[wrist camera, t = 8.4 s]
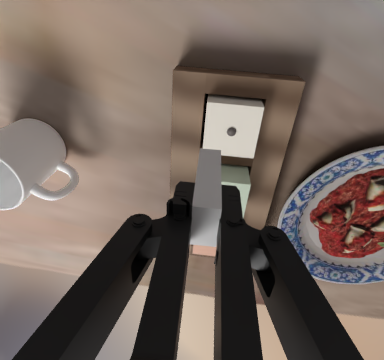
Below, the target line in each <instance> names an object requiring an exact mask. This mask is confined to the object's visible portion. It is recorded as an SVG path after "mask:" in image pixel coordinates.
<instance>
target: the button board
mask: <svg viewBox="0 0 384 360" xmlns="http://www.w3.org/2000/svg"><path fill="white" fill-rule="evenodd" d="M304 86H305V81H304V80H302V79H301V78H300V77H299V76H288V75H276V74H265V73H254V72H242V71H231V70H219V69H208V68H196V67H185V66H176V68H175V69H174V70H173V90H172V130H171V170H170V199H171V198H173V196H174V192H175V187H176V185H177V184H178V183H179V182H180V181H183V182H194V183H195V181H196V174H197V166H198V159H199V151H200V148H202V149H203V140H201V137H202V126H203V116H204V105H205V94H217V95H228V96H239V97H250V98H261V101H262V103H263V105H264V112H263V117H262V121H261V126H260V131H259V135H258V140H257V144H256V149H255V154H254V158H243V157H233V156H223V155H221V163H222V164H231V165H241V166H248V171H249V177H250V183H251V186H250V191H249V195H248V200H247V204H246V209H245V213H244V218H243V219H244V220H245V222H246V223H247V224H248V225H249V226H251V227H253V228H255V229H258V230H261V229H262V228H264V226H265V223H266V219H267V216H268V212H269V209H270V205H271V202H272V198H273V195H274V191H275V187H276V184H277V180H278V177H279V173H280V170H281V166H282V163H283V159H284V156H285V152H286V149H287V145H288V142H289V138H290V135H291V131H292V128H293V124H294V121H295V117H296V114H297V110H298V107H299V103H300V100H301V96H302V93H303V89H304ZM189 255H195V256H204V257H212V258H215V256H208V255H200V254H193V245H191V244H190V247H189Z"/></svg>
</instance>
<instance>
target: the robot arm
mask: <svg viewBox="0 0 384 360" xmlns="http://www.w3.org/2000/svg"><path fill="white" fill-rule="evenodd" d="M190 244H191V245H201V246H211V247H216V245H217V248H216V255H215V261H214V264H215V316H214V360H263V356H262V349H261V341H260V332H259V324H258V317H257V308H256V300H255V291H254V283H253V275H254V278H255V280H256V283H257V285H258V288H259V290H260V293H261V295H262V298H263V300H264V303H265V305H266V307H267V310H268V312H269V315H270V317H271V320H272V322H273V325H274V327H275V330H276V332H277V335H278V337H279V339H280V342H281V344H282V347H283V350H284V352H285V354H286V357H287V359H288V360H364V359H363V358H362V356H361V354H360V353H359V351H358V350H357V348H356V346H355V345H354V343H353V342H352V340H351V338H350V337H349V335H348V333H347V332H346V330H345V329H344V327H343V325H342V324H341V322H340V321H339V319H338V317H337V316H336V314H335V312H334V311H333V309H332V307H331V306H330V304H329V303H328V301H327V299H326V298H325V296H324V295H323V293H322V291H321V290H320V288H319V286H318V285H317V283H316V282H315V280H314V278H313V277H312V275H311V274H310V272H309V270H308V269H307V267H306V265H305V264H304V262H303V261H302V259H301V257H300V256H299V254H298V253H297V251H296V249H295V248H294V246H293V244H292V243H291V241H290V240H289V238H288V236H287V235H286V233H285V232H284V231H283V230H281V229H279V228H277V227H274V226H267V227H264V228H262V229H261V230H258V229H255V228H253V227H251V226H249V225H248V224H247V223H246V222H245V220H244V219H243V214H242V206H241V197H240V191H239V189H238V188H237V187H236V186H232V185H222V184H221V150H214V149H202V148H200V151H199V159H198V166H197V174H196V181H195V183H194V182H183V181H180V182H179V183H178V184H177V185H176V187H175V192H174V196H173V198H171V199H170V200H168V202H167V215H166V216H165V217H163V218H160V219H154V220H151V218H150V217H149V216H147V215H145V214H135V215H133V216H130V217H129V218H128V219H127V220H126V221H125V222H124V224H123V225H122V226H121V227H120V229H119V230H118V231H117V232H116V233H115V235H114V236H113V237H112V238H111V240H110V241H109V242H108V243H107V244H106V246H105V247H104V248H103V249H102V250H101V252H100V253H99V254H98V255H97V257H96V258H95V259H94V260H93V261H92V263H91V264H90V265H89V266H88V268H87V269H86V270H85V271H84V272H83V274H82V275H81V276H80V277H79V278H78V280H77V281H76V282H75V283H74V285H73V286H72V287H71V288H70V289H69V291H68V292H67V293H66V294H65V296H64V297H63V298H62V299H61V300H60V302H59V303H58V304H57V305H56V307H55V308H54V309H53V310H52V311H51V313H50V314H49V315H48V316H47V318H46V319H45V320H44V321H43V322H42V324H41V325H40V326H39V327H38V328H37V330H36V331H35V332H34V333H33V335H32V336H31V337H30V338H29V339H28V341H27V342H26V343H25V344H24V346H23V347H22V348H21V349H20V350H19V352H18V353H17V354H16V355H15V356H14V358H13V359H12V360H95V358H96V356H97V355H98V353H99V351H100V350H101V348H102V346H103V344H104V343H105V341H106V339H107V337H108V336H109V334H110V332H111V331H112V329H113V327H114V326H115V324H116V322H117V320H118V319H119V317H120V315H121V313H122V312H123V310H124V308H125V307H126V305H127V303H128V301H129V300H130V298H131V296H132V295H133V293H134V291H135V289H136V288H137V286H138V284H139V282H140V281H141V279H142V277H143V276H144V274H145V272H146V270H147V269H148V267H149V265H150V264H151V262H152V260H153V258H156V260H155V264H154V268H153V273H152V277H151V281H150V285H149V289H148V293H147V297H146V301H145V305H144V309H143V313H142V317H141V321H140V325H139V329H138V333H137V337H136V341H135V345H134V349H133V353H132V356H131V359H130V360H176V359H177V350H178V342H179V333H180V324H181V317H182V308H183V300H184V291H185V283H186V274H187V266H188V258H189V247H190ZM252 273H253V275H252Z"/></svg>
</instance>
